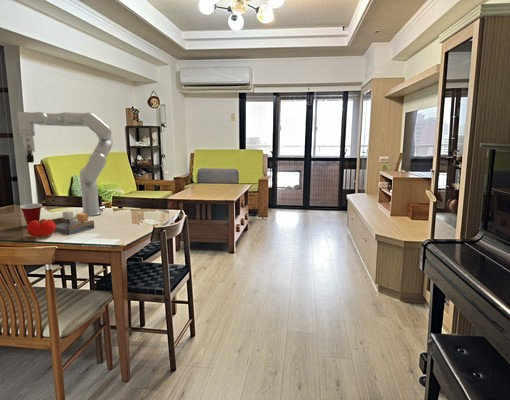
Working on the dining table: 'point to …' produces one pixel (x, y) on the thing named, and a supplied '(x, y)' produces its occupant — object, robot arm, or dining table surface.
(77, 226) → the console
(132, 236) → the dining table surface
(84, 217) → the block
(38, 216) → the plastic cup
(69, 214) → the block
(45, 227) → the tomato
